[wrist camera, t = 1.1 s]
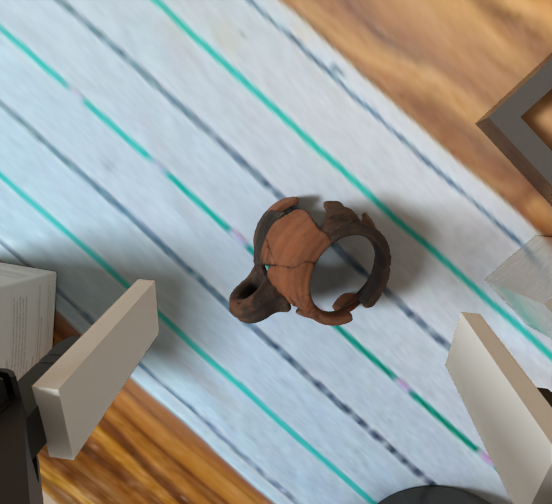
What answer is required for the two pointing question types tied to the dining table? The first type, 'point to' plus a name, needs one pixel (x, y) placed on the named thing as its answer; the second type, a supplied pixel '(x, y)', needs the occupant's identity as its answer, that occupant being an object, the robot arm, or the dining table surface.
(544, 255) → the nut block
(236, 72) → the dining table surface
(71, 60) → the dining table surface
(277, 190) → the dining table surface
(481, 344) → the robot arm
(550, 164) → the two-slot nut tray
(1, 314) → the supplement box
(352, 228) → the pottery mug
